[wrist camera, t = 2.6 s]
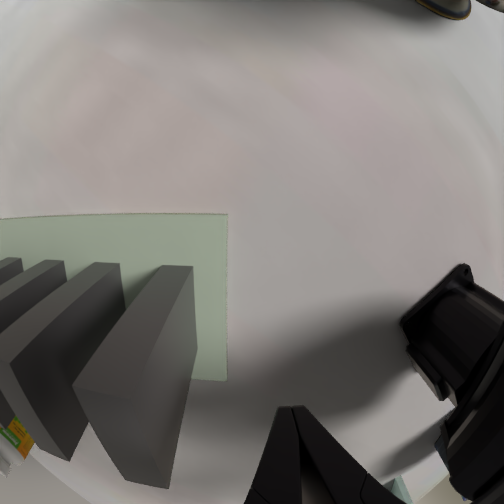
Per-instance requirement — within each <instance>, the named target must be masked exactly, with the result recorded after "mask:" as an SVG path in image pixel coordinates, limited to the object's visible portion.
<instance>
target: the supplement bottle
mask: <svg viewBox="0 0 504 504" xmlns="http://www.w3.org/2000/svg"><path fill="white" fill-rule="evenodd" d="M34 443H35V442H34V440H33V439H32V438H31V436H30V435H29V434H28V432H27V431H26V429H25V428H24V427H23V425H22V424H21V422H20V421H19V419H18V418H17V416H15V417H14V419H13V420H12V422H11V423H10V424H9V426H8V427H7V429H6V430H5V429H3V428H1V427H0V474H1V475H2V476H4V477H7V476H8V474H9V472H10V469H11V467H10V465H11V464H14V465H21V464H22V463H23V462H24V460H25V458H26V456H27V455H28V453H29V451H30V449H31V448H32V446H33V444H34Z"/></svg>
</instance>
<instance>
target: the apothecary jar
mask: <svg viewBox="0 0 504 504" xmlns="http://www.w3.org/2000/svg"><path fill="white" fill-rule="evenodd" d="M415 1H417V2H418V3H420V4H421V5H423V6H425V7H426V8H428V9H430V10H432V11H434V12H436V13H437V14H439V15H442V16H444V17H447V18H450V19H455V20H463V19H466V18H467V17H468V16H469V14H470V12H471V1H470V0H415ZM476 1H478V2H480V3H481V4H483V5H485V6H487V7H489V8H492V9H494V10H496V11H499V12H502V13H504V0H476Z"/></svg>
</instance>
